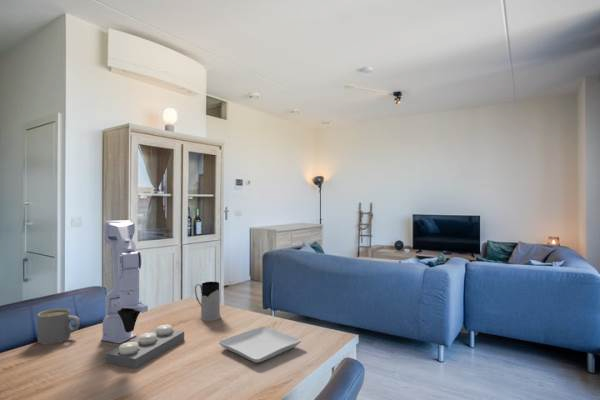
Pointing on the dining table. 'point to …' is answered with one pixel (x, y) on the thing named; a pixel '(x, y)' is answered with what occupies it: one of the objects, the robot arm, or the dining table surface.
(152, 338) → the knob
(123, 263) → the robot arm
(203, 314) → the grey black pitcher
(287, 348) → the salad plate
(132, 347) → the knob
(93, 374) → the dining table surface
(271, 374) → the dining table surface
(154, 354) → the mount
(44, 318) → the coffee mug
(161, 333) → the knob
